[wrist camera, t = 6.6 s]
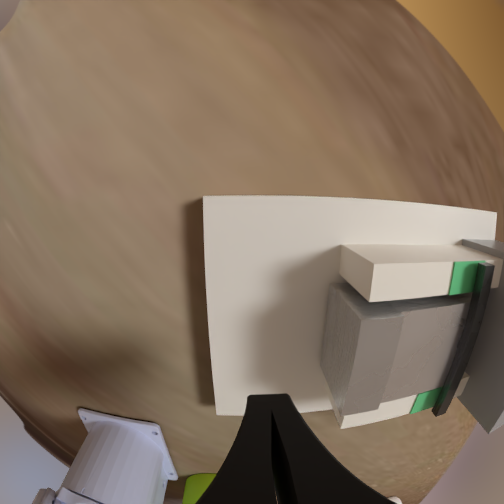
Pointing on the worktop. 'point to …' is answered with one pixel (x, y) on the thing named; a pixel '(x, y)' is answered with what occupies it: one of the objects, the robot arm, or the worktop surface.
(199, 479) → the soap dispenser
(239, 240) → the architectural block model
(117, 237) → the worktop surface
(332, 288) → the grey block with bar
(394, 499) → the garlic bulb
